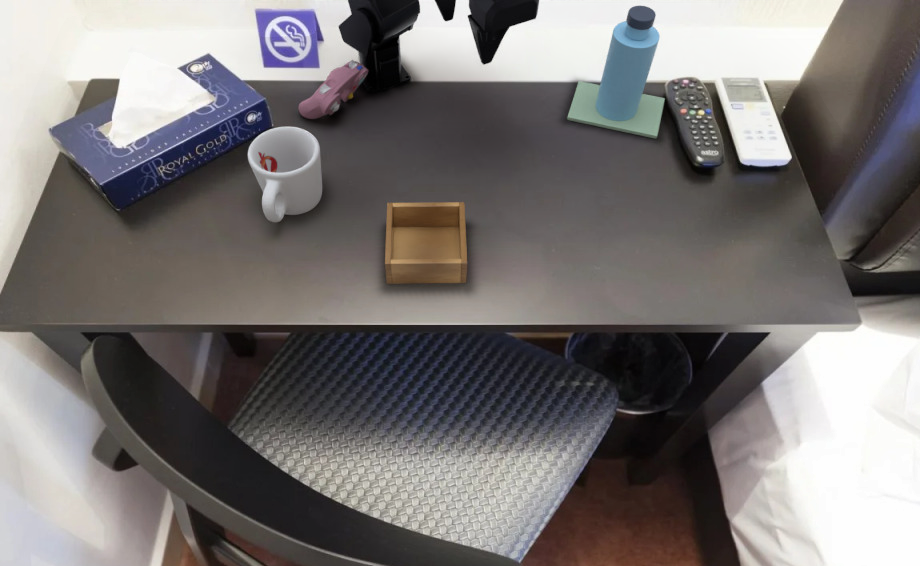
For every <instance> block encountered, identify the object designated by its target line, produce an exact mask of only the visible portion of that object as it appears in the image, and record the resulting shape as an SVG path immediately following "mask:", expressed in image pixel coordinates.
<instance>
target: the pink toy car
mask: <svg viewBox="0 0 920 566" xmlns="http://www.w3.org/2000/svg"><path fill="white" fill-rule="evenodd" d="M368 71H369V70H368V69H367V68H365V67H364V66H363V65H362V64H360V62H358V61H355V60H354V59H351V60H350V61H348V62H346V63H344V65H341V66H339V67H336V68H335V69H333V70H331V71H330V72H329V74H328V75H327V77H326V80H325V81H324V82H322V83H321V84H320V85H319V87H318V88H317V89H316V90H315V91H314V93H313V94H312V95H311V96H310V97H309V98H306V99H304V100H302V101H300V103H298V112H299V113H300V115H301V117H303V118H305V119H308V120H316V119H319V118H321V117H323V116H326V115H329V116H331V115H333V114H334V113H335V112H337V111H338V110H339V109H340V105H341V102H344V103H346V102H347V101H348V100H351V99H353V98H354V94H355V92H356V90H357V89H358V88H359V87H360V86H361V84H362V82H363V80H364V79H365V78H366V76H367V74H368ZM341 100H342V101H341Z"/></svg>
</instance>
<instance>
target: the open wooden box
mask: <svg viewBox="0 0 920 566" xmlns="http://www.w3.org/2000/svg"><path fill="white" fill-rule="evenodd" d="M385 224H386V226H385V227H386V228H385V247H384V248H385V250H384V251H385V252H384V268H385V277H386V284H388V285H389V284H391V285H393V284H466V283H467V277H468V276H467V274H468V251H467V230H466V229H467V228H466V205H465V201H458V202H455V201H453V202H452V201H451V202H449V201H447V202H445V201H443V202H436V201H435V202H387V203H386V223H385Z"/></svg>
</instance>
